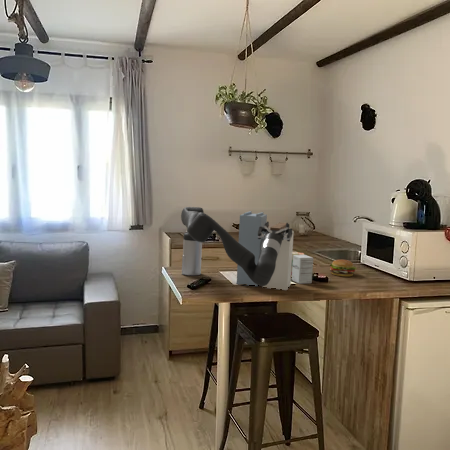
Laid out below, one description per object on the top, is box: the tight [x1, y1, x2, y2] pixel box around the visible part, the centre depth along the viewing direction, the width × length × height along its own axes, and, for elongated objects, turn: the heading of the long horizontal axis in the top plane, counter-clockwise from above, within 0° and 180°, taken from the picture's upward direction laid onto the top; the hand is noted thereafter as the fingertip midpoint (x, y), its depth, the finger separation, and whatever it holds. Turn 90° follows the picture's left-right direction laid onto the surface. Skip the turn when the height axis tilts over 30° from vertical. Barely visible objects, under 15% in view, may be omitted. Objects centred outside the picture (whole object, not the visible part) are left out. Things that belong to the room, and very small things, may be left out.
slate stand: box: [236, 210, 268, 287], centre depth 224 cm, size 13×10×33 cm
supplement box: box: [291, 254, 314, 285], centre depth 231 cm, size 7×7×13 cm
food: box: [329, 258, 358, 278], centre depth 253 cm, size 14×14×8 cm
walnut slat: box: [269, 222, 287, 230], centre depth 215 cm, size 24×4×3 cm, turn 164°
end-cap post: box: [262, 227, 295, 291], centre depth 219 cm, size 11×11×26 cm
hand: (277, 223), depth 208 cm, fingers open, 8 cm apart
